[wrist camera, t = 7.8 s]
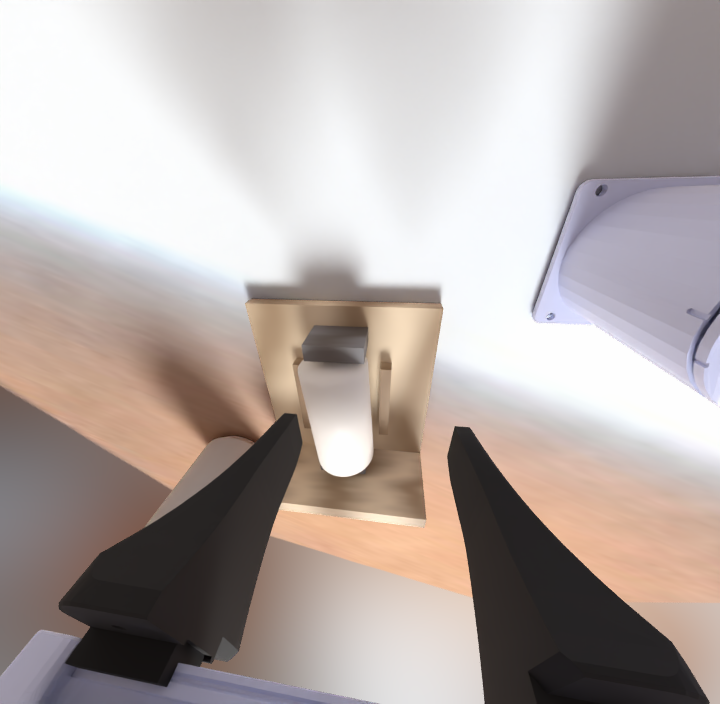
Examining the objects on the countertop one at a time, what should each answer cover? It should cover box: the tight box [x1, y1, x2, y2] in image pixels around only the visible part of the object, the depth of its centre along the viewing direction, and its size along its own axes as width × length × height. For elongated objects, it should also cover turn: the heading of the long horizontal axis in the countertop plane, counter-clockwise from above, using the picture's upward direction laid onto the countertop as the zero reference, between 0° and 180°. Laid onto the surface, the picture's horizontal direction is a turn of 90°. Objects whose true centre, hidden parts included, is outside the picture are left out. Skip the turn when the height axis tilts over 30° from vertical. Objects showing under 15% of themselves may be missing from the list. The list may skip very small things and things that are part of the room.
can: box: [144, 436, 254, 528], centre depth 25 cm, size 8×8×12 cm
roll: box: [298, 357, 374, 477], centre depth 20 cm, size 5×9×5 cm, turn 5°
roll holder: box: [245, 299, 443, 528], centre depth 20 cm, size 14×16×7 cm
